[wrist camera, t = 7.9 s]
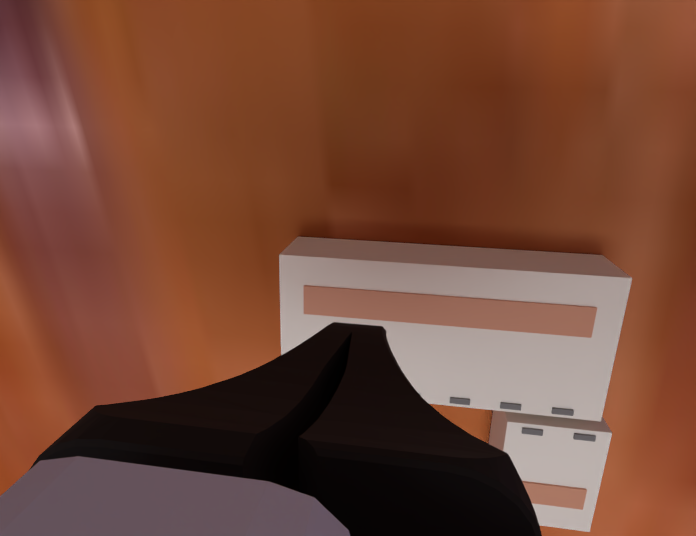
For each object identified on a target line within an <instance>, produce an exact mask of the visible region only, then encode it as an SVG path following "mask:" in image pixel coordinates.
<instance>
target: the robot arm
mask: <svg viewBox="0 0 696 536" xmlns="http://www.w3.org/2000/svg"><path fill="white" fill-rule="evenodd" d="M0 536H542V535H541V531H540V526H539V523H538V519H537V516H536V513H535V510H534V508H533V505H532V503H531V500H530V498H529V495H528V493H527V491H526V489H525V487H524V484H523V482H522V480H521V478H520V476H519V474H518V472H517V470H516V468H515V466H514V464H513V462H512V460H511V458H510V456H509V455H508V454H507V453H506V452H504V451H502V450H500V449H498V448H496V447H494V446H492V445H490V444H488V443H486V442H484V441H482V440H480V439H478V438H476V437H474V436H472V435H470V434H469V433H467V432H466V431H464V430H462V429H461V428H459V427H458V426H456V425H455V424H453V423H452V422H450V421H449V420H448V419H446V418H445V417H444V416H442V415H441V414H440V413H439V412H438V411H436V410H435V409H434V408H433V407H432V406H431V405H429V404H428V403H427V402H426V401H425V400H424V399H423V398H422V397H421V396H420V395H419V393H418V392H417V391H416V390H415V389H414V387H413V386H412V385H411V383H410V382H409V381H408V379H407V378H406V376H405V375H404V373H403V372H402V370H401V368H400V367H399V365H398V363H397V361H396V359H395V357H394V355H393V353H392V351H391V349H390V346H389V343H388V341H387V337H386V330H385V329H384V328H383V326H375V325H363V324H351V323H339V322H333V323H331V324H329V325H328V326H326V327H325V328H323V329H322V330H320V331H319V332H318V333H316V334H315V335H313V336H312V337H310V338H309V339H307V340H306V341H304V342H303V343H301V344H300V345H298V346H296V347H295V348H293V349H291V350H290V351H288V352H286V353H284V354H283V355H281V356H279V357H277V358H276V359H274V360H272V361H270V362H268V363H266V364H264V365H262V366H260V367H258V368H256V369H253V370H251V371H249V372H246V373H244V374H242V375H239V376H236V377H234V378H231V379H228V380H225V381H221V382H218V383H215V384H212V385H209V386H206V387H203V388H199V389H195V390H191V391H187V392H183V393H179V394H174V395H169V396H164V397H159V398H153V399H147V400H140V401H132V402H124V403H116V404H108V405H97V406H95V407H94V408H92V409H91V410H90V411H89V412H88V413H87V414H86V415H85V416H83V417H82V418H81V419H80V420H79V421H78V422H77V423H75V424H74V425H73V426H72V427H71V428H70V429H69V430H68V431H66V432H65V433H64V434H63V435H62V436H61V437H60V438H59V439H57V440H56V441H55V442H54V443H53V444H52V445H51V446H50V447H48V448H47V449H46V450H45V451H44V452H43V453H42V454H41V455H39V457H38V458H37V460H36V461H35V462H34V464H33V465H32V467H31V468H30V470H29V471H28V472H27V473H26V474H25V475H23V476H22V477H21V478H20V479H19V480H18V481H17V482H16V483H15V484H13V485H12V486H11V487H10V488H9V489H8V490H7V491H6V492H5V493H3V494H2V495H1V496H0Z"/></svg>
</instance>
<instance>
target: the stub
mask: <svg viewBox="0 0 696 536" xmlns="http://www.w3.org/2000/svg"><path fill="white" fill-rule="evenodd" d="M611 436H612V432H611V430H610V428H609V427H608V425H607V423H606V422H605V420H604V418H603V417H602V419H601V421H591V420H582V419H572V418H563V417H553V416H544V415H534V414H525V413H515V412H506V411H496V410H493V414H492V421H491V429H490V436H489V443H488V444H490V445H492V446H494V447H496V448H498V449H500V450H502V451H504V452H506V453H507V454H508V455H509V456H510V458H511V460H512V462H513V464H514V466H515V468H516V470H517V472H518V474H519V476H520V478H521V480H522V482H523V484H524V487H525V489H526V491H527V493H528V495H529V498H530V500H531V503H532V505H533V508H534V510H535V513H536V516H537V519H538V523H539V525H541V526H549V527H556V528H564V529H571V530H579V531H586V532H590V528H591V523H592V519H593V514H594V510H595V506H596V501H597V497H598V493H599V488H600V484H601V480H602V475H603V471H604V467H605V462H606V458H607V453H608V449H609V445H610V440H611Z"/></svg>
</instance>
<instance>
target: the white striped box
mask: <svg viewBox="0 0 696 536" xmlns="http://www.w3.org/2000/svg"><path fill="white" fill-rule="evenodd" d="M279 273H280V321H281V355H283V354H284V353H286V352H288V351H290V350H291V349H293V348H295V347H296V346H298V345H300V344H301V343H303V342H304V341H306V340H307V339H309V338H310V337H312V336H313V335H315V334H316V333H318V332H319V331H320V330H322V329H323V328H325V327H326V326H328V325H329V324H331V323H333V322H339V323H351V324H363V325H375V326H383V328H384V329H385V330H386V337H387V341H388V343H389V346H390V349H391V351H392V353H393V355H394V357H395V359H396V361H397V363H398V365H399V367H400V368H401V370H402V372H403V373H404V375H405V376H406V378H407V379H408V381H409V382H410V383H411V385H412V386H413V387H414V389H415V390H416V391H417V392H418V393H419V395H420V396H421V397H422V398H423V399H424V400H425V401H426V402H427V403H429V404H439V405H448V406H458V407H467V408H477V409H486V410H496V411H506V412H515V413H525V414H534V415H544V416H553V417H563V418H572V419H582V420H591V421H601V419H602V414H603V409H604V405H605V400H606V396H607V391H608V387H609V382H610V377H611V373H612V368H613V364H614V359H615V355H616V350H617V345H618V341H619V336H620V332H621V327H622V323H623V318H624V314H625V309H626V304H627V300H628V295H629V291H630V286H631V282H632V278H631V277H630V276H629V275H628V274H626V273H625V272H624V271H622V270H621V269H620V268H619V267H617V266H616V265H615V264H613V263H612V262H611V261H610V260H608V259H607V258H606V257H604V256H603V255H594V254H577V253H561V252H544V251H528V250H512V249H495V248H479V247H462V246H446V245H430V244H413V243H397V242H381V241H364V240H348V239H331V238H315V237H299V236H298V237H297V238H296V239H295V240H294V241H293V242H292V243H291V244H290V245H289V246H288V247H287V248H285V249H284V250H283V251H282V252H281V253H280V254H279Z"/></svg>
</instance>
